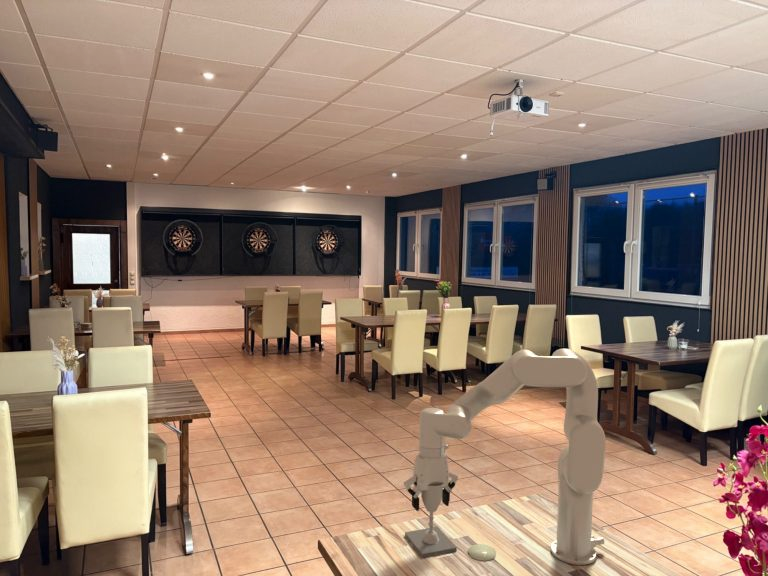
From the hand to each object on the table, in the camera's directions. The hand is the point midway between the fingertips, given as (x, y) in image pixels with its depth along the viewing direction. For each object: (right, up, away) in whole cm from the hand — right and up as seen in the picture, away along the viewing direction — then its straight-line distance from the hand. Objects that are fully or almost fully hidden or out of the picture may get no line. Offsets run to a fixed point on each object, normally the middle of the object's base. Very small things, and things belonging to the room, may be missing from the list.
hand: (430, 506), depth 170 cm
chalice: (0, -11, +1) cm, 11 cm away
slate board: (0, -11, +1) cm, 11 cm away
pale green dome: (+15, -12, -4) cm, 19 cm away
